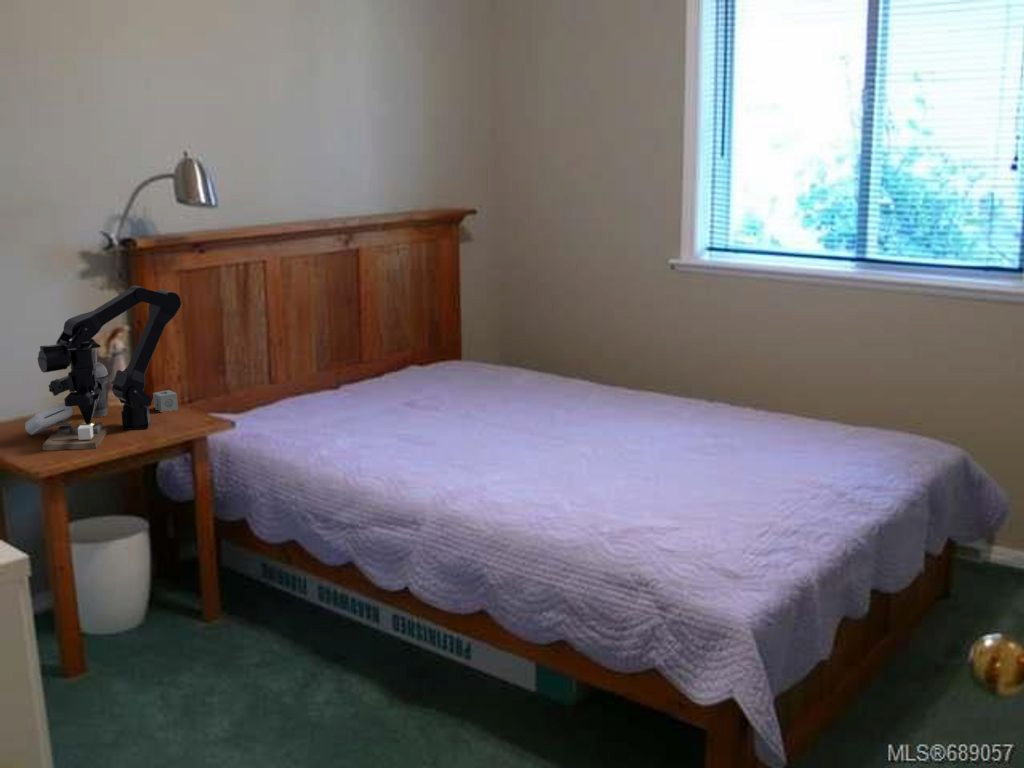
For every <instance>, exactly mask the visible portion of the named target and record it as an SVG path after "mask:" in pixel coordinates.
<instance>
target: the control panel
mask: <svg viewBox="0 0 1024 768" xmlns="http://www.w3.org/2000/svg"><path fill="white" fill-rule="evenodd" d="M93 422H94V421H93ZM82 423H83V422H79V423H78V424H77V425H76V426H74V425H61V426H59V427H58V428H57V429H55V430H54V432H52V433H51V435H50V436H49V437H48V438H47V439H46V441H45V442H43V444H42V446H41V447H42V451H43V450H47V451H65V450H64V449H70V450H90V449H91V450H92V449H93V450H94V449H97V447H98V446H99V445H100V444H101V442H102V441H103V439H104V438H105V437H104V436H106V435H108V427H107V426H106V427H104V425H103V422H101V421H100V422H99V421H98V422H97V421H96V422H94V423H95V428H93V437H92V438H91V439H86V440H79V438H78V428H79V426H80V425H82Z"/></svg>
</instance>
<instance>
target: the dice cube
mask: <svg viewBox="0 0 1024 768" xmlns="http://www.w3.org/2000/svg"><path fill="white" fill-rule="evenodd" d="M152 400H153V408H155V409H157V410H159V411H161V412H163V411H170V412H173V411H172V410H175V411H179V404H178V402H179V401H178V393H177V392H175V391H172V390H170V389H168V390H162V391H157V392H153V393H152ZM159 411H158V412H159ZM161 412H160V413H161Z"/></svg>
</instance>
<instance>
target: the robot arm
mask: <svg viewBox="0 0 1024 768" xmlns="http://www.w3.org/2000/svg"><path fill="white" fill-rule="evenodd" d="M142 302H143V303H145V304H146V303H147V304H148V319H147V321H146V324H145V327H144V329H143V331H142V332H141V335H140V338H139V340H138V343H137V345H136V347H135V349H134V351H133V354H132V356H131V358H130V361H129V363H128V365H127V367H125V369H123V370H120V369H117V370H116V373H115V377H114V379H113V380H112V381H111V382H110V383H111V384H112V386H111V391H112V393H113V396H114V397H116V398H117V399H118V400H119V403H121V404H123V405H122V410H121V411H120V413H121V424H122V426H123V428H122V430H145V429H149V427H150V425H151V424H152V422H153V421H152V420H151V415H150V407H151V405H152V402H153V397H151V396H149V395H148V394H147V393H146V392H144V389H145V386H146V371H147V370H148V367H149V364H150V362H151V359H152V357H153V355H154V353H155V351H156V348H157V346H158V343H159V341H160V339H161V336H162V334H163V333H164V332H163V331H164V330H165V327H166V325H168V323H169V322H170V321H172V319H174V317H176V315H177V313H178V312H179V310H180V309H181V306H182V300H181V298H180V296H179V294H178V293H176V292H173V291H168V290H165V289H158V290H155V291H154V290H150V289H148V288H145V287H142V286H139V285H132V286H130V287H129V288H128V289H127V290H125V291H124V292H122V293H120V294H118V295H116V296H115V297H113V298H112V299H110V300H109V301H107V302H105V303H104V304H102V305H100V306H98V307H97V308H96V309H94V310H91V311H88V312H85V313H81V314H77V315H76V316H73V317H71V318H68V319H67V320H66V321H65V322H64V325H63V330H62V332H61V334H60V335H59V337H58V339H57V341H56V342H55V343H56V344H51V345H40V346H39V352H38V357H37V363H38V366H39V367H38V368H39V369H40V370H41V372H42V373H45V374H46V373H51V372H57V371H62V370H67V369H68V367H70V371H69V372H68V374H67V375H66V376H63V377H60V378H55V379H54V380H51V381H50V382H49V384H48V389H49V390H48V392H50V393H52V395H53V397H55V396H58V395H59V394H61V393H64V392H67V391H69V394H67V396H66V397H65V398H64V403H65V406H72V407H78V409H79V410H80V413H81V416H82V417H83V419H84V422H85V423H86V424H90V423H91V422H92V419H93V418H94V417H93V414H94V411H95V408H96V405H97V402H98V399H99V397H100V394H94V392H93V391H94V390H95V389H96V388H100V390H103V389H104V388H105V386H104V381H103V380H102V379H101V378H95V372H96V367H94V362H95V360H94V355H93V349H95V348H97V349H98V348H101V345H100V343H97V342H96V341H95V339H93V338H94V337H95V336H96V335H97V334H98V333H100V330H101V329H102V328H103V326H105V325H106V324H108V323H109V322H111V321H112V320H114V319H115V318H117V317H119V316H120V315H122V314H123V313H125V312H127V311H128V310H130V309H132V308H133V307H134V306H136V305H138V304H140V303H142Z"/></svg>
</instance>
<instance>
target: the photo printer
mask: <svg viewBox="0 0 1024 768" xmlns="http://www.w3.org/2000/svg"><path fill="white" fill-rule="evenodd" d="M74 412H75V411H74V408H73V406H65V402H62V403H59V404H57V405H53V406H51V407H49V408H46V409H44V410H42V411H40V412H38V413H36V414H35V415H34V416H32V417H31V418H29V419H28V420H27V421H26V422H25V423H24V424H25V425H24V428H25V432H26V433H28V434H30V435H31V436H33V435H37V434H39V433H42V432H44V431H47V430H49V429H51V428H53V427H56V426H57V422H65V421H66V420H67V419H68V418H70V417H72V416H74Z"/></svg>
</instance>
